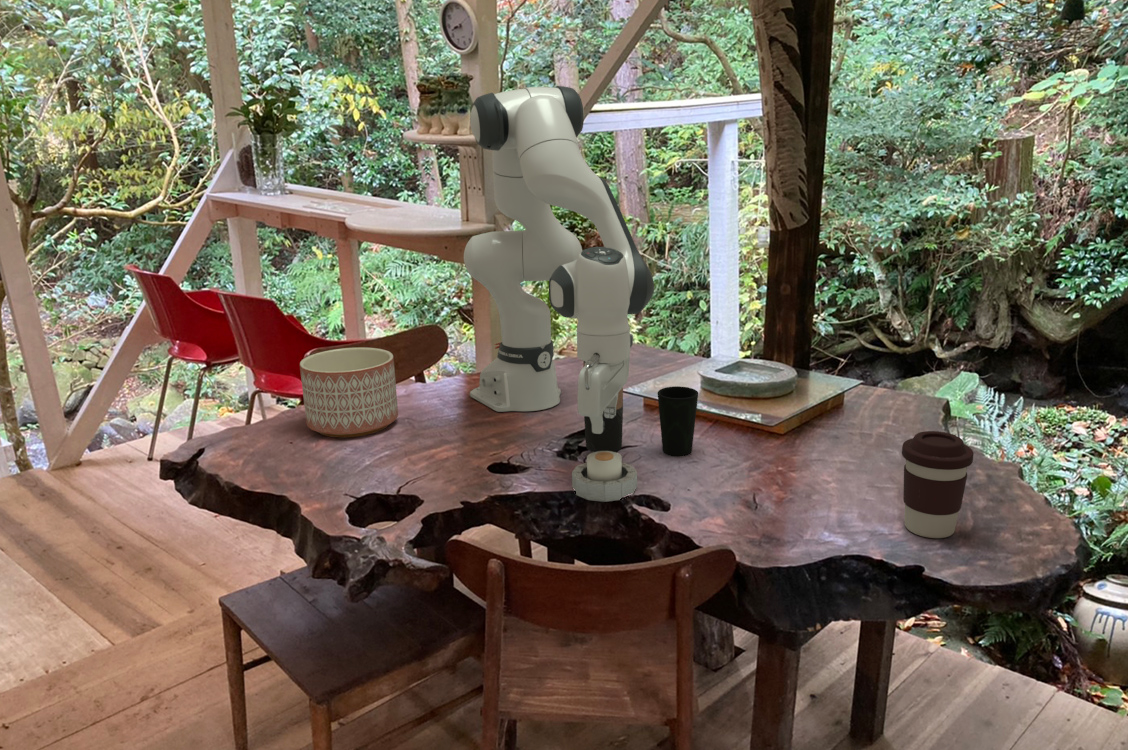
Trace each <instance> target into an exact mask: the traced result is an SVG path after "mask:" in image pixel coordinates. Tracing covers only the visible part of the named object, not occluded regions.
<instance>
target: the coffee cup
mask: <svg viewBox="0 0 1128 750" xmlns="http://www.w3.org/2000/svg"><path fill="white" fill-rule="evenodd" d="M901 447H902V448H901V455H902V457H903V458H904V460H905V463H904V466H903V503H904V526H905V528H906V529H907V530H908V531H909V532H911V533H913V534H915V535H917V536H920V537H923V538H929V539H943V538H945V539H946V538H948V537H950V536H952V535H953V534H954V533H955V531H956V527H957V521H958V516H959V512H960V510H961V508H962V504H963V499H964V494H965V489H966V485H967V479H968V472H967V470H968V467H970V466H971V465H972V464H973V461H974V453H975V452H974V450H973V449H972V448H971V447H970V446H969V445H967V444H965V443H964V441H963V439H962V438H961V437H960V436H959V435H955V434H954V433H953V434H952V433H950V432H945V431H938V430H927V431H920V432H918V433H916V434H915V435H914V436H913V437H912V438H909V439H906V440H905V441H903V443H902V445H901Z"/></svg>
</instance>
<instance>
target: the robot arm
mask: <svg viewBox="0 0 1128 750" xmlns="http://www.w3.org/2000/svg"><path fill="white" fill-rule="evenodd" d="M470 110H471V111H470V114H469V115H470V118H469V124H470V129H471V130H470V131H471V132H472V135H473V137H474V139H475V142H476V143H477V145H478V146H480V147H481V148H482V149H484V150H488V151H492V175H493V176H492V179H493V180H492V181H493V192H494V193H493V197H494V204H495V206H496V208H497V210H499V212H500V213H501V214H503V215H504V216H506V217H508V218H510V219H512V220H514V221H516V222H517V223H519V224H521V225H522V226H523V227H524V230H507V231H506V230H505V231H504V230H503V231H502V230H501V231H497V230H496V231H489V232H484V233H480V234H477V235H472V236H471V237H470V239H469V240H468V241H467V243H466V245H465V248H464V251H463V262H464V267H465V269H466V270H467V272H468V274H469V276H471V277H472V278H473V279H474V280H475V281H477V282H478V283H479V284H481V285H482V286H483V287H484V288H485V289H486V290H487V291H488V292H489V294H490V295H491V296H492V298H493V299H494V302H495V304H496V306H497V310H498V313H499V322H500V328H501V329H500V330H501V341H500V342H498V343H495V344H494V346H495V347H494V349H495V350H496V349H498V351H497V356H496V358H495V359H494V360H492V362H490V363H489V364H488V365H486V366H485V367H484V368H483V369H482V370H480V371H481V372H480V374H479V386H478V387H475V388H473V389H472V390H471V391H469V397H471V398H472V399H474V400H476V401H477V402H479V403H481V404H483V405H485V406H487V407H488V408H490V409H491V410H493V411H495V412H499V413H500V412H502V413H503V412H504V413H505V412H535V411H541V410H548V409H550V408H553V407H556V406H557V405H558V404H560V402H561V397H560V396H561V393H562V392H561V388H559V384H558V378H557V371H556V364H555V361H554V360H553V359H554V355H555V354H554V352H555V351H554V350H555V347H554V342H553V340H552V327H551V323H552V321H551V310H550V307H551V308H552V309H553V310H554V311H555V312H556V313H558V314H559V315H560V316H561V317H563V318H569V319H577V327H576V349H577V351H576V356H577V358H578V359H579V360H581V361H585V366H584V367H583V366H582V368H581V369H580V371H579V374H578V380H577V381H578V382H577V404H576V405H577V412H578V415H580V416H582V417H584V416H588V417H590V420H591V423H592V432H593V433H595V434H601V433H602V432H603V430H604V421H603V416H602V415H603V411H604V416H605V417H606V418H613V417H614V416H615V415H616V405H617V400H618V392H619V391H620V390H621V389H622V387H623V388H624V387H625V385H626V384H627V383H628V382H627V381H628V379H629V373H630V372H629V371H630V359H631V358H630V357H631V348H632V347H633V345H634V334H633V333H631V332H630V329H631V327H630V323H629V320H628V315H638V314H639V313H640V312H642V311H643V310H644V309H645V308H646V307H647V306H648V305H649V303H650V301H651V299H652V298H653V296H654V292H655V284H654V283H655V281H654V277H653V274H652V272H651V269H650V268H649V266H648V264H647V263H646V261H645V260H644V258H643V257H642V255H641V254H640V252H639V250H638V248H637V246H636V243H635V241H634V238H633V236H632V234H631V232H630V229H629V227H628V226H627V225H628V224H627V223H626V221H625V218H624V216H623V214H622V211H621V209H620V207H619V205H618V203H617V201H616V198H615V195H614V194H613V192H612V190H611V188H610V186H609V184H608V183H607V182H606V180H605V179H604V178H603V177H601V176H599V175H597V174H596V173H595V172H594V171H593V170H592V169H591V167H590V166H589V165H588V162H586V161H585V159H584V157H583V155H582V153H581V149H580V146H579V143H578V139H577V137H578V136H580V134H581V133H582V131H583V128H584V123H585V122H584V120H585V110H584V106H583V102H582V98H581V96H580V94H579V93H578V92H577V91H576V89H575V88H572V87H570V86H565V85H564V86H562V85H557V86H555V87H551V86H531V87H524V88H519V89H511V90H507V91H501V92H498V93H493V92H489V93H484V94H482V95H480V96H478V97H476V99H475V100H474V101H473V103H472V106H471V109H470ZM551 206H553V207H557V208H561V209H565V210H569V211H571V212H574V213H577V214H579V215H580V216H584V217H585V218H586V219H588V220H589V221H591V222H592V224H593V225H594V226H595V228H596V230H597V233H598V234H599V238H600V239H601V241H602V244H603V246H593V247H589V248H585V249H583V247H582V245H581V242H580V240H579V239H578V238H577V236H576V235H575V234H574V233H573V232H571V231H570V230H569V229H567V228H565V227H564V226H563V225H562V223H560V221H559V220H558V219H557V218H556V216H555V214H554V212H553V210H552V207H551ZM543 281H544V282H545V281H548V298H549V304H550V307H549V306H548V304H547V303H546V302H545V301H543V300H542V299H541V298H538V297H536V296H535V295H532V294H530V293H528V292H526V291H525V290H524V289H523V288H522V286H521V283H524V282H543Z"/></svg>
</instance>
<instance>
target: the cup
mask: <svg viewBox="0 0 1128 750" xmlns="http://www.w3.org/2000/svg"><path fill="white" fill-rule="evenodd" d="M698 399H699V391H697V389H695V388H692V387H687V386H676V385H675V386H666V387H663V388H660V389H659V390H658V391H657V402H658V404H657V405H658V410H659V411H658V413H659V425H660V426H659V427H660V434H661V435H660V436H661V445H662V452H663V454H664V455H666V456H668V457H672V458H673V457H675V458H682V457H688V456H690V455H691V454H692V452H693V446H694V445H693V443H694V442H693V441H694V435H695V425H696V418H697V410H698Z"/></svg>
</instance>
